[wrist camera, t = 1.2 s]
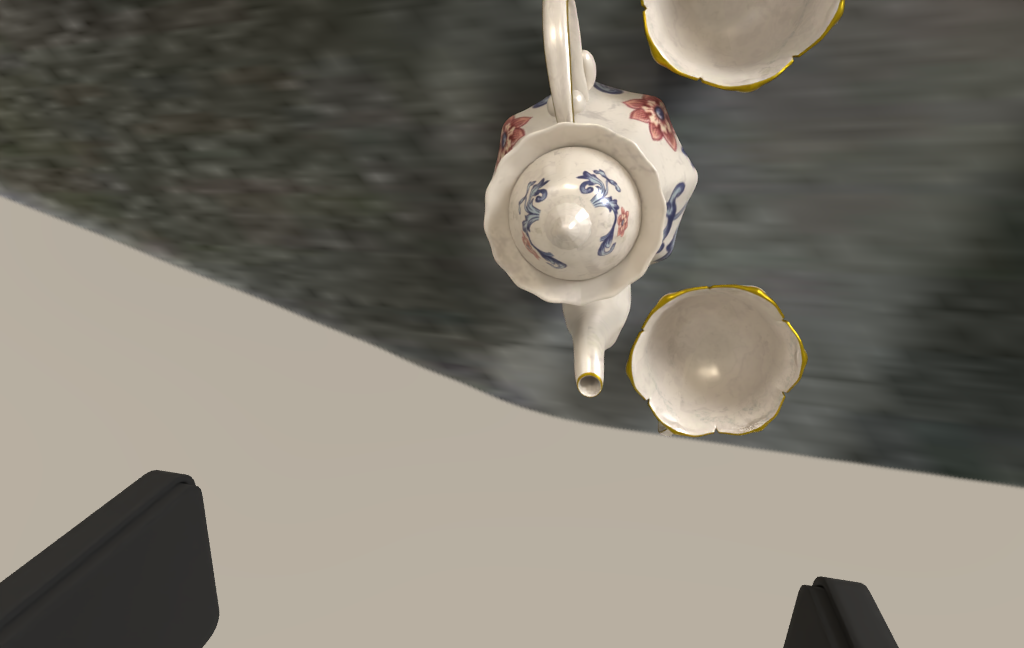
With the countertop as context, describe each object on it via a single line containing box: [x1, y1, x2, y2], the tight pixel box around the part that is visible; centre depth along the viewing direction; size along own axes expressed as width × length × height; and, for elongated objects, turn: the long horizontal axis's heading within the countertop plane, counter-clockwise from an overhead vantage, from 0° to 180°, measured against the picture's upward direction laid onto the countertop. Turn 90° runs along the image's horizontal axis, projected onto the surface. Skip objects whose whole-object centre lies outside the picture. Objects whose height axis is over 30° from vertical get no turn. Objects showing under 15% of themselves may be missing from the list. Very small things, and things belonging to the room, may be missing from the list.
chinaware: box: [484, 0, 845, 437], centre depth 26 cm, size 28×17×17 cm, turn 8°
